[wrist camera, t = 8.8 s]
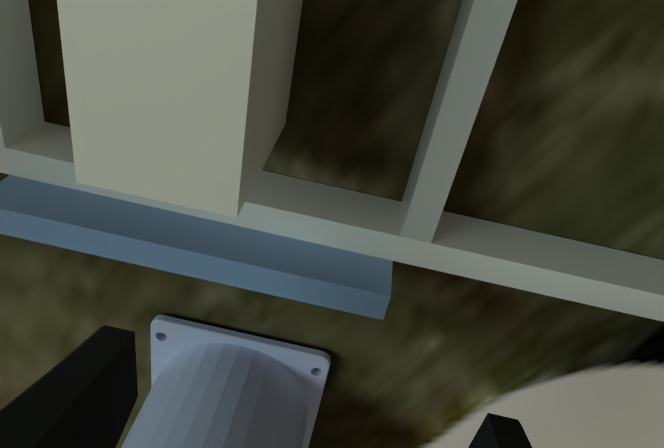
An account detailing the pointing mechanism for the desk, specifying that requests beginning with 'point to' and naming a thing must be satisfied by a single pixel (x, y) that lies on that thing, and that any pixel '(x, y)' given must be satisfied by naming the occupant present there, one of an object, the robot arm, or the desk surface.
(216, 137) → the cream rectangular block
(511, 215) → the desk surface
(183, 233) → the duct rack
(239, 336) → the robot arm
